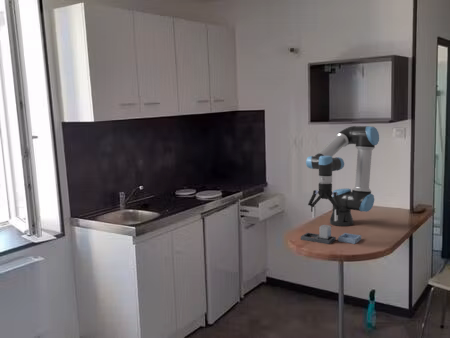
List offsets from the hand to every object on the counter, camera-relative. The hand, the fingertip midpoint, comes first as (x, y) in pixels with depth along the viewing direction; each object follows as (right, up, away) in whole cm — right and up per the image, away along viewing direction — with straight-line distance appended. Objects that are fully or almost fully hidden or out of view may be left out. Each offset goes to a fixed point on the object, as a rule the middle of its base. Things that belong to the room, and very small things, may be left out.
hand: (324, 219), depth 261 cm
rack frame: (-3, -13, +5) cm, 14 cm away
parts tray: (+15, -13, +2) cm, 20 cm away
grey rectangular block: (+1, -13, +2) cm, 13 cm away
